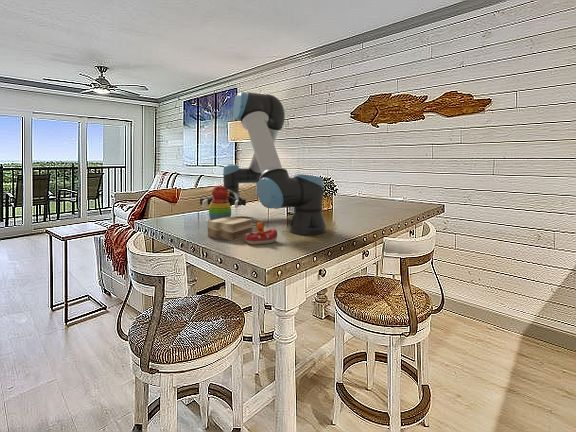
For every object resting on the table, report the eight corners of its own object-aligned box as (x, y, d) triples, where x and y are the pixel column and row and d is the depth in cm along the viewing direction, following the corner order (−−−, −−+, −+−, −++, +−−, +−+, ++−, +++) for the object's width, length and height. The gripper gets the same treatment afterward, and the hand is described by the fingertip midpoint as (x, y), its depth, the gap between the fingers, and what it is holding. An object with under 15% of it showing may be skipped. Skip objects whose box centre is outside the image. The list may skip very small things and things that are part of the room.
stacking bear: (227, 230, 149) (227, 187, 146) (204, 228, 151) (203, 186, 148) (236, 225, 159) (236, 184, 156) (215, 223, 161) (214, 184, 158)
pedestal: (252, 234, 141) (252, 219, 140) (232, 240, 131) (232, 224, 130) (228, 231, 147) (228, 216, 146) (207, 236, 137) (207, 221, 136)
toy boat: (280, 244, 128) (280, 223, 127) (248, 246, 124) (248, 224, 122) (273, 239, 135) (273, 219, 134) (242, 241, 131) (242, 221, 129)
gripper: (254, 206, 173) (249, 213, 152) (202, 205, 173) (190, 212, 152) (254, 190, 172) (249, 196, 151) (201, 190, 172) (189, 195, 151)
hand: (219, 204), depth 151 cm, fingers open, 13 cm apart
